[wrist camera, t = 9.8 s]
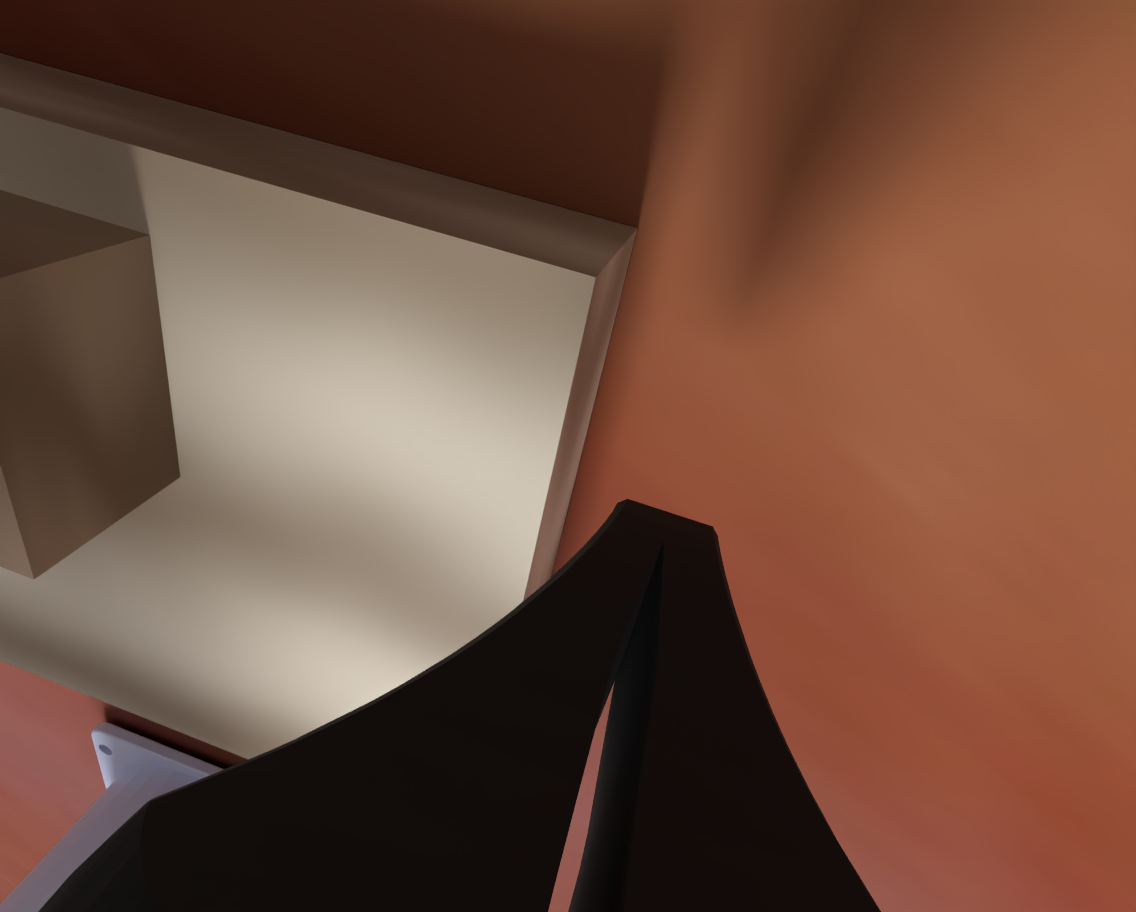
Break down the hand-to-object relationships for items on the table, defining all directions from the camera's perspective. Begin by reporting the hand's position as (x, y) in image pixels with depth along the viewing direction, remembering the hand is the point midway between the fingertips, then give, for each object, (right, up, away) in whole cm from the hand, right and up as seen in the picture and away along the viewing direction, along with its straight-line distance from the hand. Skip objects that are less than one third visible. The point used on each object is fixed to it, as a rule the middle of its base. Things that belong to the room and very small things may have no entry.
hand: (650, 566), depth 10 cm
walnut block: (-10, +4, +2) cm, 11 cm away
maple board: (-9, +2, +6) cm, 11 cm away
